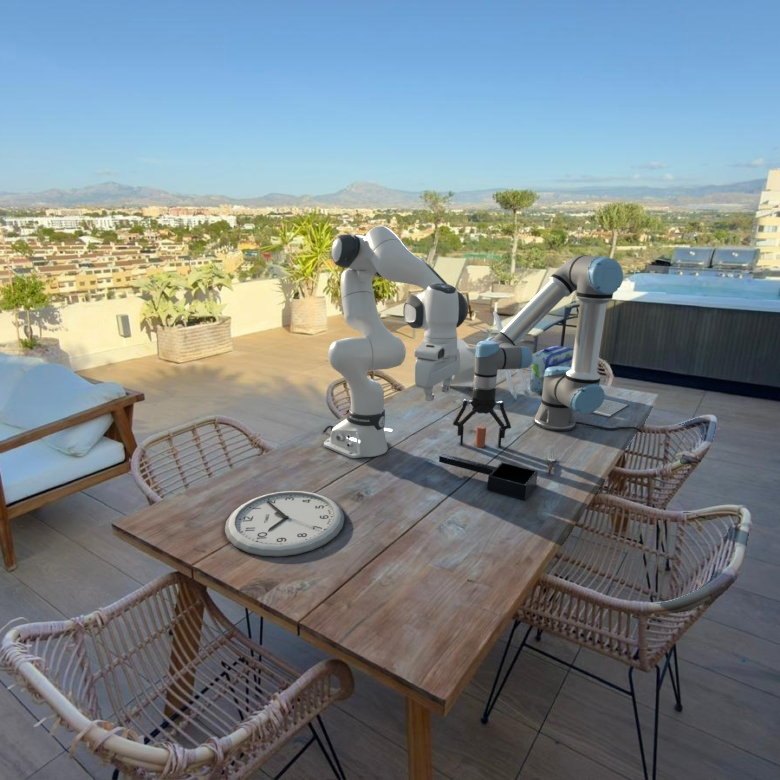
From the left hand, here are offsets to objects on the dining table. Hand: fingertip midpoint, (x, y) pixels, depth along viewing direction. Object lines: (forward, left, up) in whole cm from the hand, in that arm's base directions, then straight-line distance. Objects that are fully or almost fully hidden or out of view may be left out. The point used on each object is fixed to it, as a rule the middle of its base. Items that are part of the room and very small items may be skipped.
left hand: (437, 396), depth 143 cm
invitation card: (+28, +108, -29) cm, 115 cm away
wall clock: (-25, -35, -29) cm, 52 cm away
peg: (-1, +39, -29) cm, 49 cm away
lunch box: (+3, +119, -29) cm, 122 cm away
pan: (+10, +15, -29) cm, 34 cm away
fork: (+25, +36, -29) cm, 52 cm away
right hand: (-1, +39, -29) cm, 49 cm away
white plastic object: (-24, +97, -29) cm, 105 cm away
